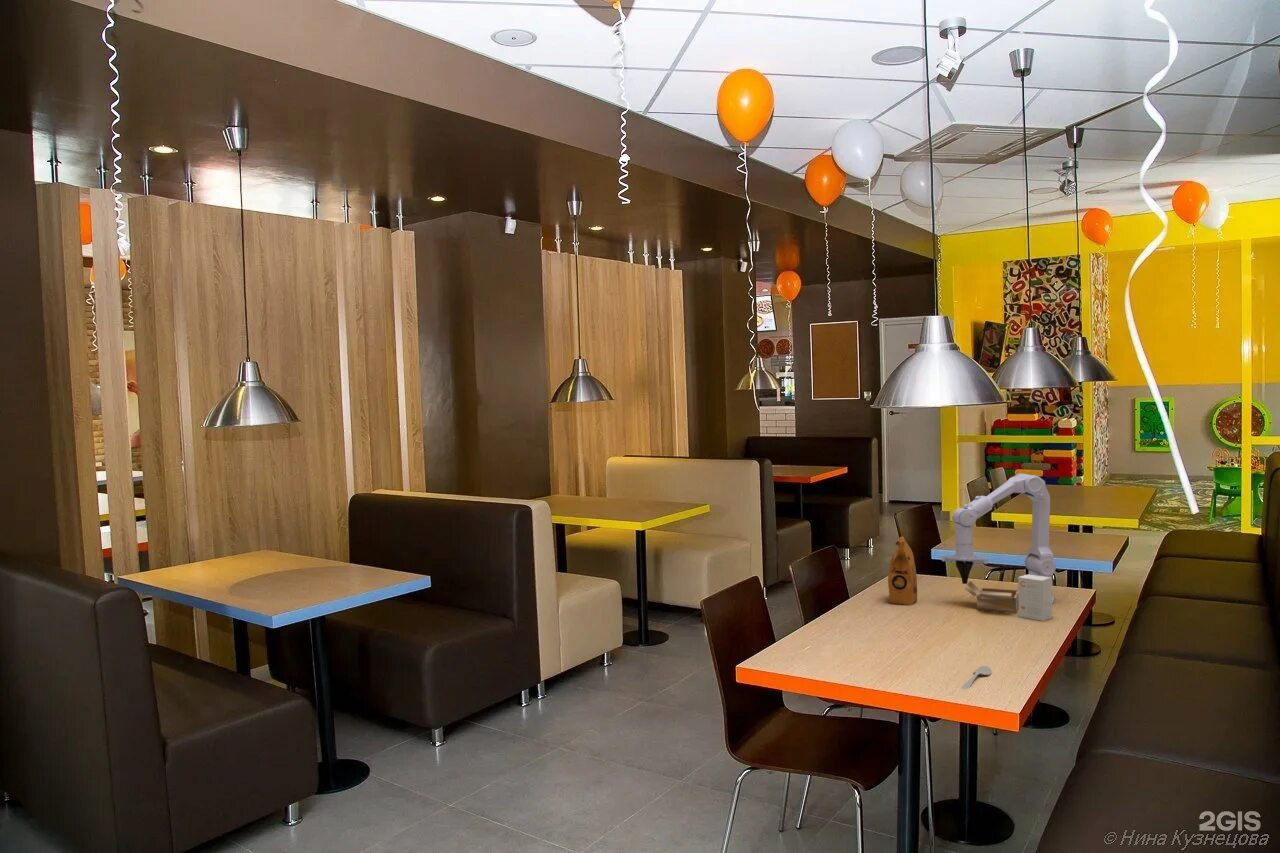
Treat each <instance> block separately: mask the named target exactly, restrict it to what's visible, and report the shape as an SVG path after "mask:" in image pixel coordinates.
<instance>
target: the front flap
mask: <svg viewBox="0 0 1280 853" xmlns="http://www.w3.org/2000/svg"><path fill="white" fill-rule="evenodd" d="M979 591H980V590H979ZM980 597H981V599H992V600H1005V601H1012V594H1011V593H1004V592H990V591H980Z"/></svg>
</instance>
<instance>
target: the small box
mask: <svg viewBox="0 0 1280 853" xmlns="http://www.w3.org/2000/svg"><path fill="white" fill-rule="evenodd" d="M1017 582H1018V584H1017V585H1018V586H1017V587H1018V589H1017V590H1018V592H1019V607H1018V617H1019V618H1023V617H1024V618H1025V619H1030V620H1037V621H1039V622H1041V621H1042V622H1045V621H1047V620H1049V619H1052V618H1053V604H1052V596H1053V581H1052V582H1051V577H1044V576H1036V575H1029V573H1028V574H1024V575H1020V576H1017Z"/></svg>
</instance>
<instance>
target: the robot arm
mask: <svg viewBox="0 0 1280 853" xmlns="http://www.w3.org/2000/svg"><path fill="white" fill-rule="evenodd" d="M1013 493H1014V494H1024V495H1026V496H1027V497H1028V498H1029V499H1030V500H1031V501H1032V512H1031V513H1032V514H1031V515H1032V518H1031V546H1030V547H1029V548H1028V549H1027V555H1026V558H1025V559H1024V566H1025V568H1026V569H1027V570H1028V574H1029V575H1036V576H1044V577H1051V582H1052V583H1053V574H1054V573H1055V572H1056V567H1057V566H1056V565H1057V564H1056V562H1055V560H1054V553H1053V552H1052V550H1051V548H1050V525H1051V524H1050V520H1051V517H1050V516H1051V515H1050V514H1051V513H1050V512H1051V495H1050V493H1049V491H1048V488H1047V486H1046V481H1045V480H1044V479H1042V478H1041V477H1040V476H1038V475H1035V474H1033V475H1032V474H1026V473H1022V472H1020V473H1017V474H1015V475H1014V476H1011V477H1009V479H1008V480H1007V481H1006V482H1004V483H1002V484H1001V485H1000V486H999V487H998V488H996V489H995V490H993V491H992V492H990V493H989V494H987V496H986V495H976V496H975V497H974V500H972V501H970V502H969V503H965V504H964V505H963V507H959V508H956V509H955V510H954V511H953V512H952V515H951V521H952V522H953V524H954V538H955V540H954V542H955V545H954V546H955V554H942V555H941V561H942V562H955V566H956V569H957V571H958V572H959V574H960V578H961V582H962V583H961V584H962V585H963V584H964V585H967V584H968V583H969V576H970V573H971V571H972V568H973V565H974V563H975V564H984V565H987V564H988V563H989V562H988V556H977V555H974V529H973V528H974V525H975V524H976V522H977V519H980V518H981V517H983V516H984V515H986V514H987V513H988V512H990V511H992V510H993V506H994V504H996V503H998V502H1000V501H1002V500H1003V499H1004V498H1005V499H1006V497H1008V496H1010V495H1012V494H1013ZM1054 600H1055V596H1053V595H1052V605H1053V604H1054Z"/></svg>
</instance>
